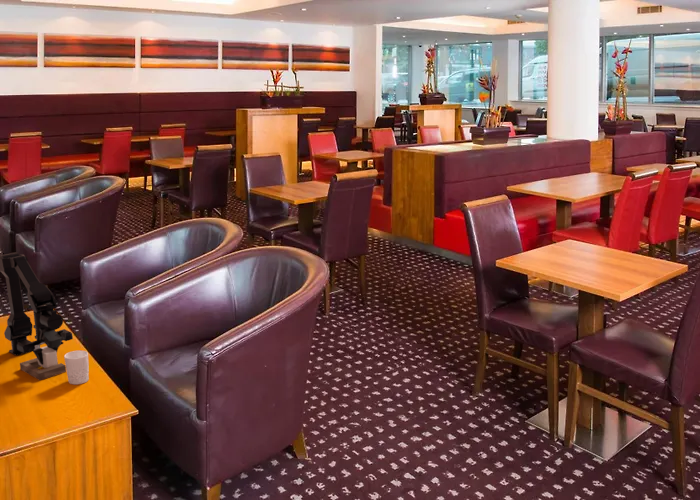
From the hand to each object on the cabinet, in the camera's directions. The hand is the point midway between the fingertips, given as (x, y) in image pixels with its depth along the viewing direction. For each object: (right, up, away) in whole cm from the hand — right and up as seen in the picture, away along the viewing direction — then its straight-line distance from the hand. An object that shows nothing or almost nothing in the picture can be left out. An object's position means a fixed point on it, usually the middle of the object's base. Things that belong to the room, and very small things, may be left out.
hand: (47, 362), depth 268 cm
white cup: (+15, -5, -9) cm, 18 cm away
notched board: (-1, -3, -1) cm, 3 cm away
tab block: (0, -1, 0) cm, 1 cm away
